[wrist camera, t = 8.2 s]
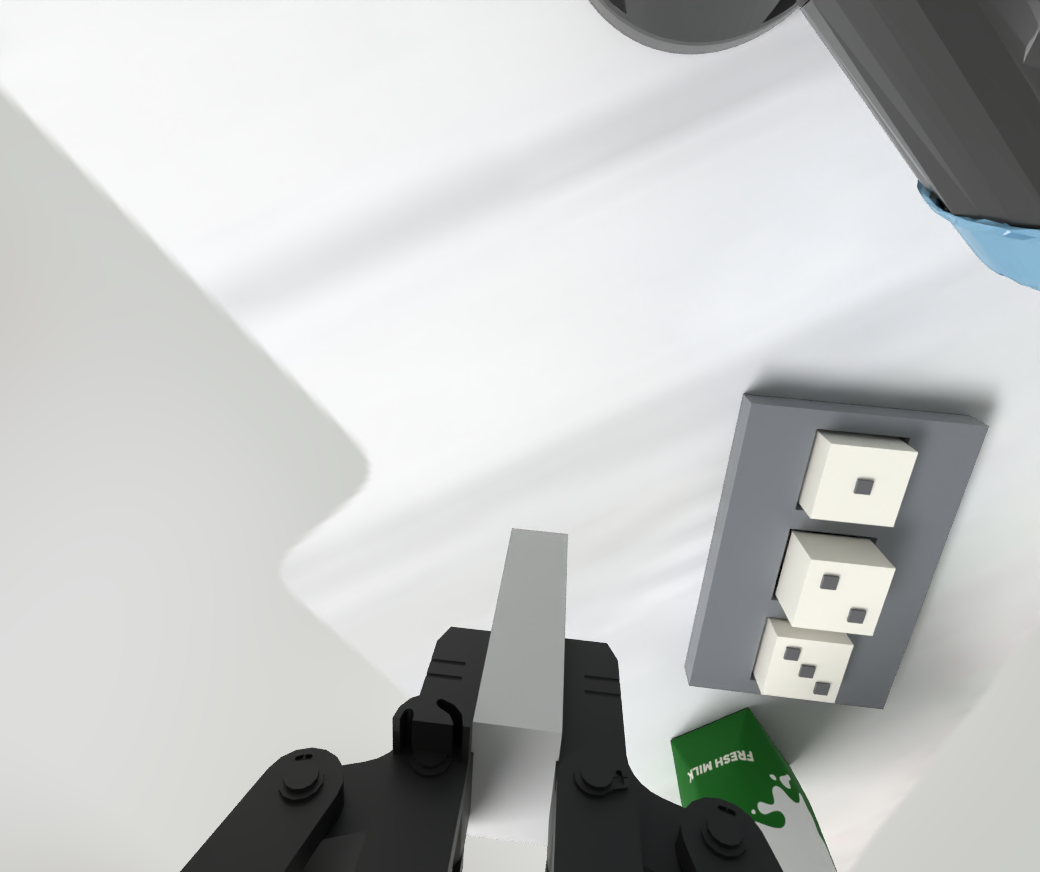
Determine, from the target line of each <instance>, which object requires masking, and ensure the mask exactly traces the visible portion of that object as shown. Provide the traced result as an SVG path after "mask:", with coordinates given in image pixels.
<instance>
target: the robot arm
mask: <svg viewBox="0 0 1040 872" xmlns="http://www.w3.org/2000/svg"><path fill="white" fill-rule="evenodd" d="M589 1H590V3H591V4H592V5H593V7H594V8H595V9H596V10H597V11H598V12H599V14H600V15H601V16H602V17H603V18H604V19H605V20H606V21H608V22H609V23H610V24H611V25H612V26H613V27H614V28H616V29H617V30H619V31H620V32H621V33H623V34H624V35H626V36H628V37H629V38H631V39H632V40H635V41H637V42H639V43H641V44H643V45H645V46H648V47H651V48H654V49H657V50H661V51H665V52H670V53H678V54H704V53H711V52H717V51H721V50H725V49H729V48H732V47H735V46H738V45H740V44H743V43H745V42H748V41H750V40H752V39H754V38H756V37H758V36H760V35H761V34H763V33H765V32H767V31H768V30H770V29H771V28H773V27H774V26H776V25H777V24H779V23H780V22H781V21H782V20H784V19H785V18H786V17H788V16H789V15H790V14H791V13H792V12H793V11H794V10H796V9H797V8H798V7H799V6H800V7H801V6H802V5H803V4H804V5H803V6H802V7H801V8H800V10H801V11H802V13H803V14H804V16H805V17H806V18H807V20H808V21H809V23H810V24H811V26H812V27H813V28H814V30H815V31H816V33H817V34H818V36H819V37H820V39H821V40H822V41H823V43H824V44H825V46H826V47H827V49H828V50H829V52H830V53H831V54H832V56H833V57H834V59H835V60H836V62H837V63H838V65H839V66H840V67H841V69H842V70H843V72H844V73H845V75H846V76H847V78H848V79H849V80H850V82H851V83H852V85H853V86H854V88H855V89H856V91H857V92H858V93H859V95H860V96H861V98H862V99H863V101H864V102H865V103H866V105H867V106H868V108H869V109H870V111H871V112H872V114H873V115H874V116H875V118H876V119H877V121H878V122H879V124H880V125H881V127H882V128H883V129H884V131H885V132H886V134H887V135H888V137H889V138H890V140H891V141H892V142H893V144H894V145H895V147H896V148H897V150H898V151H899V153H900V154H901V155H902V157H903V158H904V160H905V161H906V163H907V164H908V165H909V167H910V168H911V170H912V171H913V173H914V174H915V176H916V177H917V178H918V184H917V188H918V191H919V192H920V194H921V196H922V197H923V199H924V201H925V202H926V203H927V204H928V205H929V207H930V208H931V209H932V210H933V211H934V212H936V213H937V214H939V215H940V216H942V217H943V218H945V219H946V220H948V221H949V222H951V224H952V225H953V226H954V228H955V229H956V230H957V231H958V233H959V234H960V235H961V236H962V238H963V239H964V240H965V242H966V243H967V244H968V245H969V247H970V248H971V249H972V251H973V252H974V253H975V254H976V256H977V257H978V258H979V259H980V260H981V261H982V262H983V263H984V264H985V265H986V266H987V267H989V268H990V269H991V270H993V271H994V272H996V273H998V274H1000V275H1003V276H1006V277H1008V278H1010V279H1012V280H1014V281H1016V282H1017V283H1019V284H1021V285H1024V286H1028V287H1031V288H1033V289H1036V290H1040V0H589ZM567 544H568V534H561V533H551V532H542V531H533V530H523V529H514V528H512V531H511V536H510V541H509V546H508V551H507V556H506V561H505V566H504V571H503V576H502V581H501V585H500V590H499V595H498V600H497V605H496V610H495V615H494V620H493V625H492V630H491V631H484V630H475V629H466V628H458V627H450V628H449V629H448V630H447V631H446V633H445V634H444V635H443V636H442V637H441V638H440V639H439V640H438V641H437V643H436V646H435V649H434V653H433V656H432V660H431V662H430V665H429V668H428V671H427V676H426V677H425V680H424V684H423V687H422V690H421V693H420V695H419V696H416V697H413V698H410V699H409V700H408V701H406V702H405V703H404V704H402V705H401V706H400V707H399V708H398V710H397V712H396V713H395V715H394V716H393V750H392V751H391V752H389V753H388V754H386V755H384V756H382V757H380V758H377V759H374V760H370V761H366V762H361V763H354V764H349V765H343V766H342V765H341V763H340V761H339V760H338V758H337V757H336V756H335V755H333V754H332V753H330V752H329V751H327V750H323V749H317V748H307V749H300V750H296V751H293V752H291V753H289V754H287V755H285V756H283V757H281V758H280V759H279V760H277V761H276V762H275V763H274V764H273V765H272V766H271V767H269V768H268V769H267V770H266V772H265V773H264V774H263V775H262V776H261V778H260V779H259V780H258V781H257V782H256V783H255V785H254V786H253V787H252V788H251V789H250V790H249V792H248V793H247V794H246V795H245V796H244V797H243V799H242V800H241V801H240V802H239V803H238V805H237V806H236V807H235V808H234V809H233V811H232V812H231V813H230V814H229V815H228V816H227V817H226V819H225V820H224V821H223V822H222V823H221V825H220V826H219V827H218V828H217V829H216V830H215V831H214V833H213V834H212V835H211V836H210V837H209V838H208V840H207V841H206V842H205V843H204V844H203V846H202V847H201V848H200V849H199V850H198V852H197V853H196V854H195V855H194V856H193V857H192V858H191V860H190V861H189V862H188V863H187V864H186V866H185V867H184V868H183V869H182V870H181V871H180V872H462V869H463V852H464V844H465V838H466V833H467V835H470V836H477V837H484V838H492V839H499V840H506V841H514V842H521V843H528V844H536V845H544V846H547V861H546V869H545V872H783V870H782V868H781V866H780V864H779V862H778V860H777V858H776V857H775V855H774V853H773V851H772V849H771V847H770V845H769V844H768V842H767V840H766V838H765V836H764V834H763V832H762V831H761V829H760V828H759V827H758V825H757V824H756V823H755V821H754V820H753V819H752V817H751V816H750V815H748V814H747V813H746V812H745V811H743V810H742V809H741V808H739V807H738V806H737V805H735V804H732V803H730V802H728V801H725V800H723V799H720V798H710V797H704V798H701V799H698V800H694V801H692V802H691V803H690V804H689V805H688V806H687V807H686V808H684V807H681V806H679V805H677V804H674V803H672V802H670V801H668V800H665V799H663V798H661V797H659V796H658V795H656V794H654V793H652V792H651V791H649V790H648V789H647V788H646V787H645V786H643V785H642V784H641V783H640V782H639V780H638V779H637V778H636V777H635V776H634V774H633V772H632V770H631V768H630V766H629V764H628V760H627V756H626V746H625V735H624V724H623V713H622V702H621V691H620V683H619V668H618V660H617V658H616V657H615V655H614V654H613V652H612V650H611V649H610V647H609V646H608V644H607V643H600V642H591V641H583V640H574V639H566V638H565V614H566V579H567Z"/></svg>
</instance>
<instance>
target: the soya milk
mask: <svg viewBox="0 0 1040 872" xmlns="http://www.w3.org/2000/svg"><path fill="white" fill-rule="evenodd" d="M671 746H672V751H673V757H674V763H675V768H676V774H677V780H678V786H679V792H680V798H681V803H682V807H684V808H686V807H687V806H688V805H689V804H690V803H691V802H692V801H694V800H698V799H701V798H704V797H710V798H720V799H723V800H725V801H728V802H730V803H732V804H735V805H737V806H738V807H739V808H741V809H742V810H743V811H745V812H746V813H747V814H748V815H750V816H751V817H752V819H753V820H754V821H755V823H756V824H757V825H758V827H759V828H760V829H761V831H762V832H763V834H764V836H765V838H766V840H767V842H768V844H769V845H770V847H771V849H772V851H773V853H774V855H775V857H776V858H777V860H778V862H779V864H780V866H781V868H782V870H783V872H837V870H836V868H835V865H834V863H833V860H832V858H831V855H830V853H829V850H828V847H827V845H826V842H825V840H824V837H823V835H822V832H821V829H820V827H819V824H818V822H817V819H816V817H815V814H814V812H813V810H812V807H811V805H810V803H809V801H808V799H807V797H806V795H805V793H804V791H803V789H802V788H801V786H800V784H799V782H798V780H797V779H796V777H795V775H794V773H793V771H792V770H791V768H790V766H789V764H788V763H787V762H786V760H785V759H784V757H783V756H782V755H781V753H780V752H779V750H778V749H777V747H776V746H775V745H774V743H773V742H772V740H771V739H770V738H769V736H768V735H767V733H766V732H765V730H764V729H763V728H762V726H761V725H760V723H759V722H758V721H757V719H756V718H755V716H754V715H753V713H752V712H751V711H750V709H749V708H746V709H744V710H741V711H739V712H736V713H734V714H732V715H729V716H727V717H725V718H722V719H720V720H718V721H715V722H713V723H710V724H708V725H706V726H703V727H701V728H699V729H696V730H694V731H692V732H689V733H687V734H684V735H682V736H680V737H677V738H675V739H673V740H671Z"/></svg>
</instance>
